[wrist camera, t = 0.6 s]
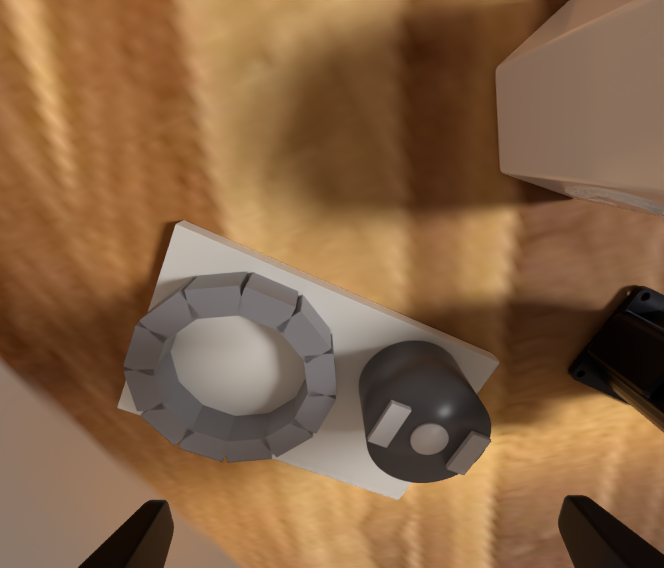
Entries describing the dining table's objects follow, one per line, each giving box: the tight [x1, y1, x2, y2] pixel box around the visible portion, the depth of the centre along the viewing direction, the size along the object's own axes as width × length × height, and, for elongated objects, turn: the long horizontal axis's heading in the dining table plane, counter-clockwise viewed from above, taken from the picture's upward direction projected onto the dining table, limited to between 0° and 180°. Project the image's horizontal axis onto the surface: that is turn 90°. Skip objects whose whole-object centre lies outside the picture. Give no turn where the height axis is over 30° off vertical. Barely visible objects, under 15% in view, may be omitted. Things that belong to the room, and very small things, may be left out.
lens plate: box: [117, 220, 500, 500], centre depth 20 cm, size 19×12×3 cm, turn 65°
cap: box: [359, 340, 491, 483], centre depth 19 cm, size 6×6×4 cm
